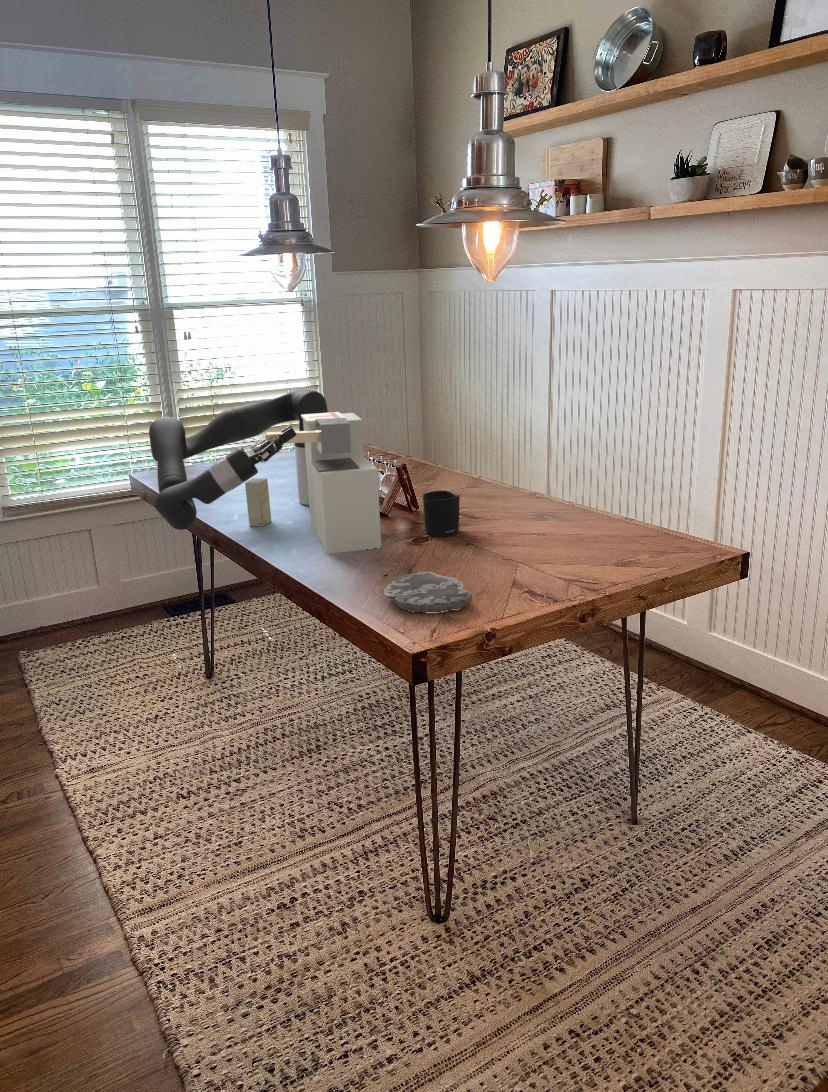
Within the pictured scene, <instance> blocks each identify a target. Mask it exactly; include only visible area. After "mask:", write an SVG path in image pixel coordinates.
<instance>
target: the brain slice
mask: <svg viewBox="0 0 828 1092" xmlns="http://www.w3.org/2000/svg"><path fill="white" fill-rule="evenodd" d="M464 587H465V586H464V584H463V581H461V580H458V579H457V578H455V577H451V576H447V575H441V574H437V573H435V572H432V571H419V572H415V573H414V572H413V573H410V574H404V575H401V576H397V577H396V578H395V579H393V580H391V581H390V582H389V584H386V585H385V588H383V590H382V592H383V596H385V597H386V598H388V599H390V600H391V601H392V602H394V603H395V605H397V607H399V608H400V609H402V610H403V609H404V611H405V610H410V611H414V612H423V613H424V612H441V611H446V610H452V609H459V608H461V607H464V606H465V607H466V606H468V605H469V604H470V603H471V601H472V598H473V593H472V592H470V591H469V590H467V589H465V588H464ZM465 607H464V608H465ZM461 609H462V608H461ZM414 612H413V613H414Z"/></svg>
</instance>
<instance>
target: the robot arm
mask: <svg viewBox="0 0 828 1092" xmlns="http://www.w3.org/2000/svg"><path fill="white" fill-rule="evenodd" d="M316 413H329V412H328V404H327V400H326V398H325V397H324V395H323V394H322V393H321V392H319V391H315V390H311V389H307V388H306V389H305V388H300V389H295V390H293V391H290V392H288V393H285V394H283V395H281V396H278V397H275V398H271V399H268V400H261V401H256V402H252V403H247V404H243V405H239V406H234V407H230V408H228V409H224V410H222V411H221V412H219V414H217V415H216V416H215V417H213V419H212V420H210V422H208V423H207V424H206V426H204V427H203V428H202V429H201V430H199V431H198V432H196V433H194V434H192V435H191V434H190V435H189V436H187V437H186V430H185V426H184V424H183V423H182V422H181V421H180V420H179V419H177V418H175V417H172V416H164V417H159V418H156V419H155V420H154V421H152V422H151V424H150V426H149V430H148V436H149V442H150V443H149V444H150V449H151V450H150V452H151V455H152V458H153V460H154V461H156V462H157V465H156V466H157V485H158V492H159V493H158V494H157V495H156V496H155V498H154V501H153V502H154V503H153V507H154V508H155V510H156V511H157V512H158V514H160V515H161V517H162V518H163V519H164V521H166V522H167V523H168V524H169V526H170V527H172V528H173V529H175V530H178V531H179V530H180V531H183V530H186V529H188V528H191V526H193V525H194V523H195V521H196V518H197V514H198V513H197V508H196V504H195V501H194V499H196V500H199V501H200V502H201V503H202V504H206V505H210V504H212V503H214V502H215V501H217V500H218V499H220V498H221V497H222V496H224V495H225V494H227V493H229V492H231V491H233V490H234V489H236V488H238V487H239V486H241V485H242V484H245V483H246V482H248V481H249V480H251V479H252V478H253V477H254V476H256V475H257V474H259V471H258V469H257V466H256V465H257V464H259V463H266V462H268V461H269V460H270V459H272V457H274V455H276V454H277V453H278V452H280V451H281V450H283V448H284V446H285V444H284V443H286V442H287V441H289V440H290V439H292V438H293V437H295V436H296V433H295V430H294V428H293V427H292V426H291V425H288V426H287V427H285V428H284V429H282V430H281V431H279V432H283V433H282V434H280V435H279V436H276V437H275V438H274V439H272V440H267V441H266V437H263V438H262V439H259V440H258V441H256V442H254V444H253V445H252V446H251V449H250V450H248V451H247V452H246V450H245V449H244V448H243V447H240V446H238V447H236V448H235V450H233V451H231V452H230V453H227V454H226V455H225V456H223V457H222V458H221V459H219V460H218V461H216V462H215V463H214V464H213V465H212V466H210V467H209V468H208V469H206V470H204V471H203V472H202V473H199V474H198V475H197V476H196V477H194V478H191V479H188V477H187V472H186V466H185V462H184V461H185V460H186V459H189V458H191V457H192V458H193V457H194V456H196V455H199V454H201V453H203V452H206V451H209V450H212V449H216V448H218V447H219V448H220V447H221V446H225V445H228V444H231V443H232V444H233V443H237V442H240V441H244V440H247V439H251V438H254V437H257V436H259V435H261V434H262V433H264V432H265V431H267V430H268V429H270V428H272V427H273V426H276V425H279V424H283V423H288V422H293V421H298V423H299V425H298V427H299V428H298V429H299V431H304V427H303V418H302V417H301V415H303V414H316ZM294 452H295V453H294V455H295V466H296V467H295V468H296V477H297V478H296V479H297V493H298V503H299V504H301V505H304V506H306V505H307V506H309V494H308V481H307V467H306V454H305V443H294Z"/></svg>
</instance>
